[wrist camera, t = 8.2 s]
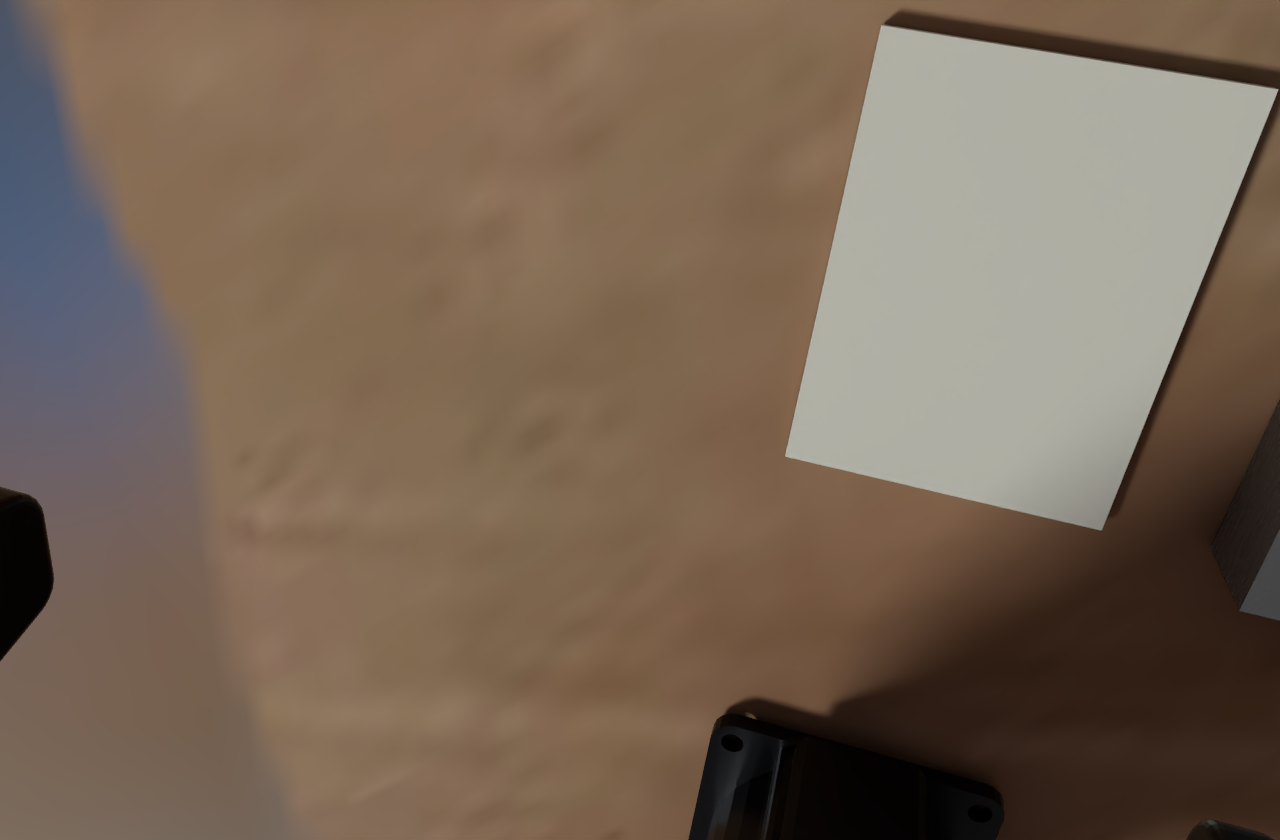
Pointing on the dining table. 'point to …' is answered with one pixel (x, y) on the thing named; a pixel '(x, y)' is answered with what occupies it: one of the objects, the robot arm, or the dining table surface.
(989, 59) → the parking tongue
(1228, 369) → the dining table surface
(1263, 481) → the rack flange
